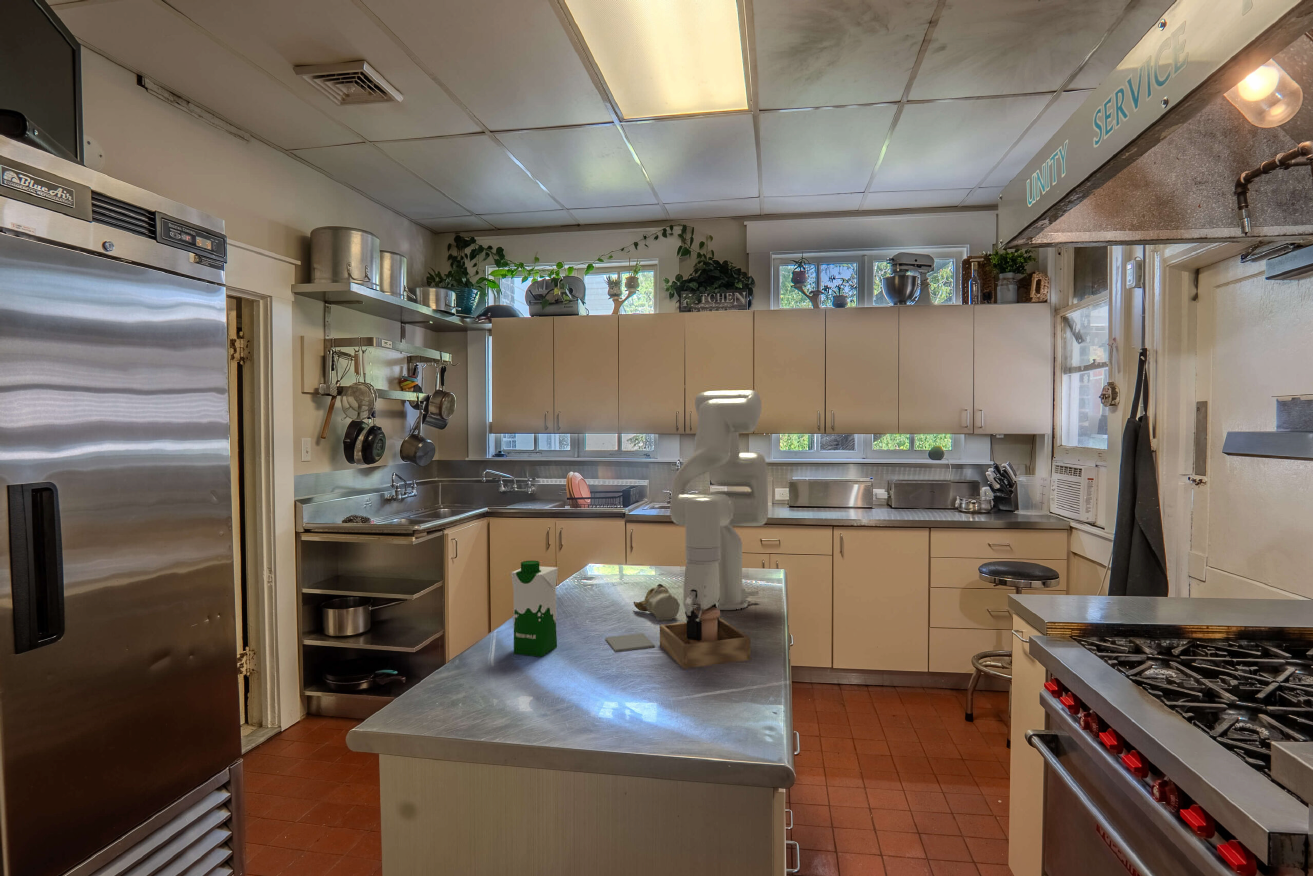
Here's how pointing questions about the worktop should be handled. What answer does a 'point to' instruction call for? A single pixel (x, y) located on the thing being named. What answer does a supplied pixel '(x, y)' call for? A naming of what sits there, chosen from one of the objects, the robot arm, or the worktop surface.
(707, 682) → the worktop surface
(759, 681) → the worktop surface
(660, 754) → the worktop surface
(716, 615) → the terracotta pot
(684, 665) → the open wooden box
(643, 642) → the slate tile
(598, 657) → the worktop surface
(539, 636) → the milk carton
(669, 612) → the ceramic sculpture
